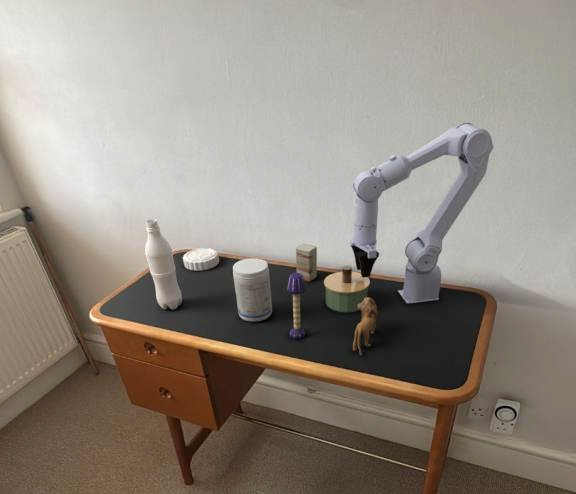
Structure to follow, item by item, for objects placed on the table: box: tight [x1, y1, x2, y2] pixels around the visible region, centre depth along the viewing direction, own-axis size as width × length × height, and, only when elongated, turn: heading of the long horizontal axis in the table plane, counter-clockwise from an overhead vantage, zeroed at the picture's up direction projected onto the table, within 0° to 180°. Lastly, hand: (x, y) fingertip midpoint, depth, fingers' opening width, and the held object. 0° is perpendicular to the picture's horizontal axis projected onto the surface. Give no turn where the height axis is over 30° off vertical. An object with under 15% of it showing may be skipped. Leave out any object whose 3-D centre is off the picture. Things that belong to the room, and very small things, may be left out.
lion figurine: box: [352, 296, 379, 356], centre depth 114 cm, size 15×5×9 cm, turn 168°
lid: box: [323, 265, 371, 294], centre depth 127 cm, size 13×13×5 cm
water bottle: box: [144, 218, 183, 310], centre depth 129 cm, size 7×7×25 cm
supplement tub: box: [232, 257, 273, 323], centre depth 125 cm, size 10×10×15 cm
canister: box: [325, 287, 369, 313], centre depth 130 cm, size 12×12×6 cm
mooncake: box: [182, 247, 220, 272], centre depth 158 cm, size 12×12×4 cm
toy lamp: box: [286, 272, 307, 340], centre depth 115 cm, size 5×5×17 cm
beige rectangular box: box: [295, 243, 318, 283], centre depth 143 cm, size 5×4×10 cm
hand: (363, 272), depth 127 cm, fingers open, 4 cm apart
